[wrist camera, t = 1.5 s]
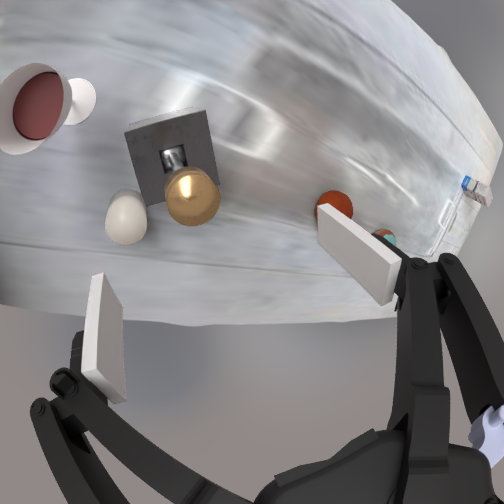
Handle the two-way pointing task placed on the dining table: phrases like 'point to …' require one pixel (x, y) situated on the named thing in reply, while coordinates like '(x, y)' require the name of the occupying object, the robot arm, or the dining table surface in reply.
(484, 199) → the ink box
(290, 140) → the dining table surface
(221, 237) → the dining table surface
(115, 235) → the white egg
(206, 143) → the grey block with hole
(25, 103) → the wineglass
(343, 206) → the fruit
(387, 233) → the donut
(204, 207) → the gold knobbed rod
